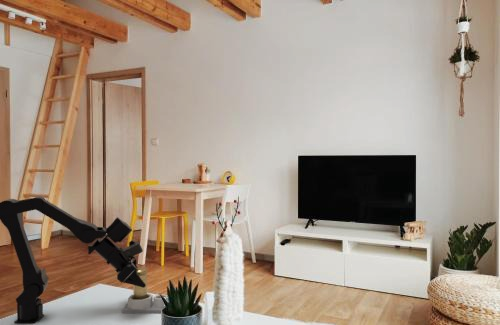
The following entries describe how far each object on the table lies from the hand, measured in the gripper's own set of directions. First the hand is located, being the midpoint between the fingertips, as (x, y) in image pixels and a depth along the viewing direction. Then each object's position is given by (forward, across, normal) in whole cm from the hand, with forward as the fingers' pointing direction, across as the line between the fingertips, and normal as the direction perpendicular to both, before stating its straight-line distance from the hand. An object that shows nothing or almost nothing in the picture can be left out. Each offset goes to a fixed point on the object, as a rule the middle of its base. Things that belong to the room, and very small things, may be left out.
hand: (144, 282), depth 145 cm
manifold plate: (+7, -1, +5) cm, 9 cm away
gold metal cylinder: (+4, 0, +6) cm, 8 cm away
